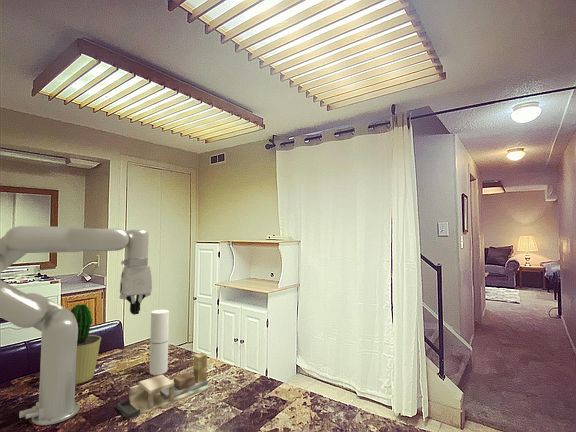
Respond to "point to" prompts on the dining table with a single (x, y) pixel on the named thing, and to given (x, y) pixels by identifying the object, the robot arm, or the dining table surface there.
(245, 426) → the dining table surface
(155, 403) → the tunnel
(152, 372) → the cylindrical container
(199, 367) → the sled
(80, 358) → the potted cactus
